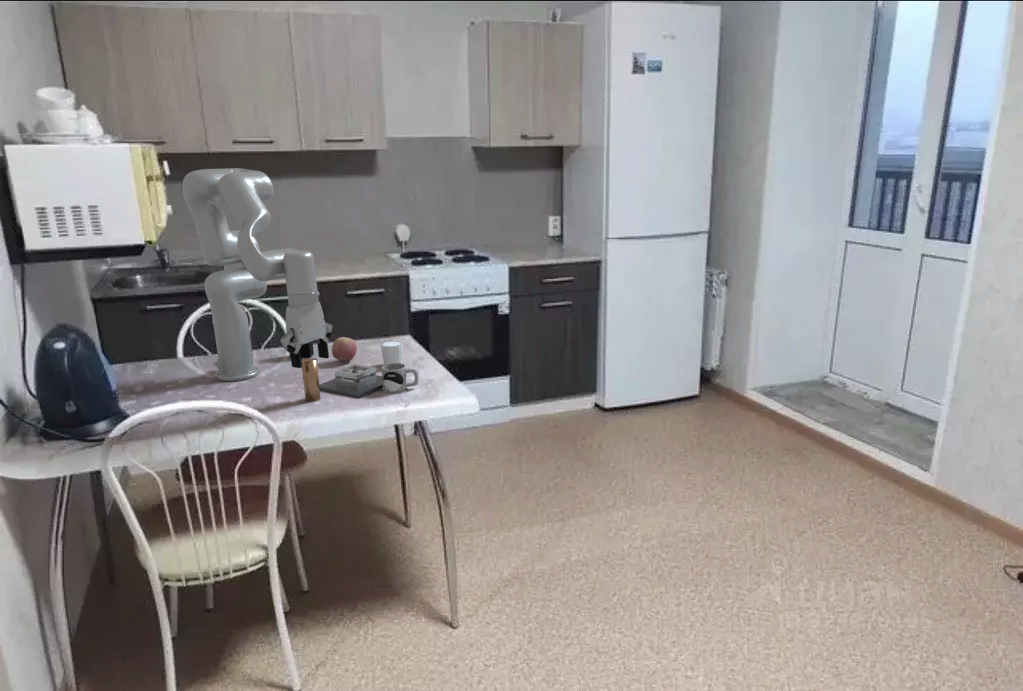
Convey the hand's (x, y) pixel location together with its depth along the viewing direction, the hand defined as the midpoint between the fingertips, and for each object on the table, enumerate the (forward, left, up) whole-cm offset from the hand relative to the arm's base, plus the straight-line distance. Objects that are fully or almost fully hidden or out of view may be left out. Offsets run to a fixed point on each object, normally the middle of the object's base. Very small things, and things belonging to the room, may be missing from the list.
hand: (310, 362), depth 188 cm
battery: (-34, +28, -11) cm, 45 cm away
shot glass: (-1, +34, -11) cm, 36 cm away
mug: (+15, +18, -11) cm, 26 cm away
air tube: (-1, 0, -11) cm, 11 cm away
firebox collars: (+2, +14, -11) cm, 18 cm away
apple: (-17, +30, -11) cm, 36 cm away
